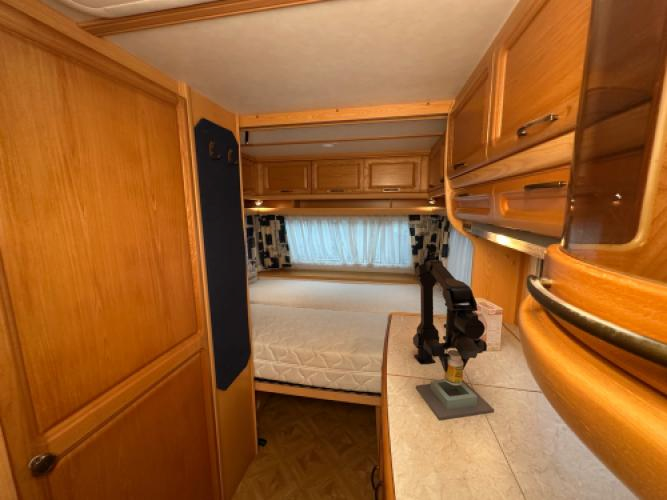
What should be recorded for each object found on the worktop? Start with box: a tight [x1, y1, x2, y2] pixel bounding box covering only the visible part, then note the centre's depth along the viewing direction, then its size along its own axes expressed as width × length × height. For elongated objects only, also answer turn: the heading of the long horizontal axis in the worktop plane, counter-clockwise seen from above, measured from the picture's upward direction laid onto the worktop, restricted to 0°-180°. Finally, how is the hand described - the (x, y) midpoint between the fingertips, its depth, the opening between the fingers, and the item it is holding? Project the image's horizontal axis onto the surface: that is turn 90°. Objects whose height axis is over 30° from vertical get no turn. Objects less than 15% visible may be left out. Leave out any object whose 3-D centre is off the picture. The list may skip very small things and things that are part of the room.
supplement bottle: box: [443, 349, 464, 385], centre depth 87 cm, size 5×5×10 cm
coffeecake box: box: [468, 297, 504, 352], centre depth 124 cm, size 15×7×20 cm, turn 4°
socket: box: [415, 378, 495, 421], centre depth 88 cm, size 15×18×4 cm
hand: (453, 370), depth 87 cm, fingers closed on supplement bottle, 5 cm apart
